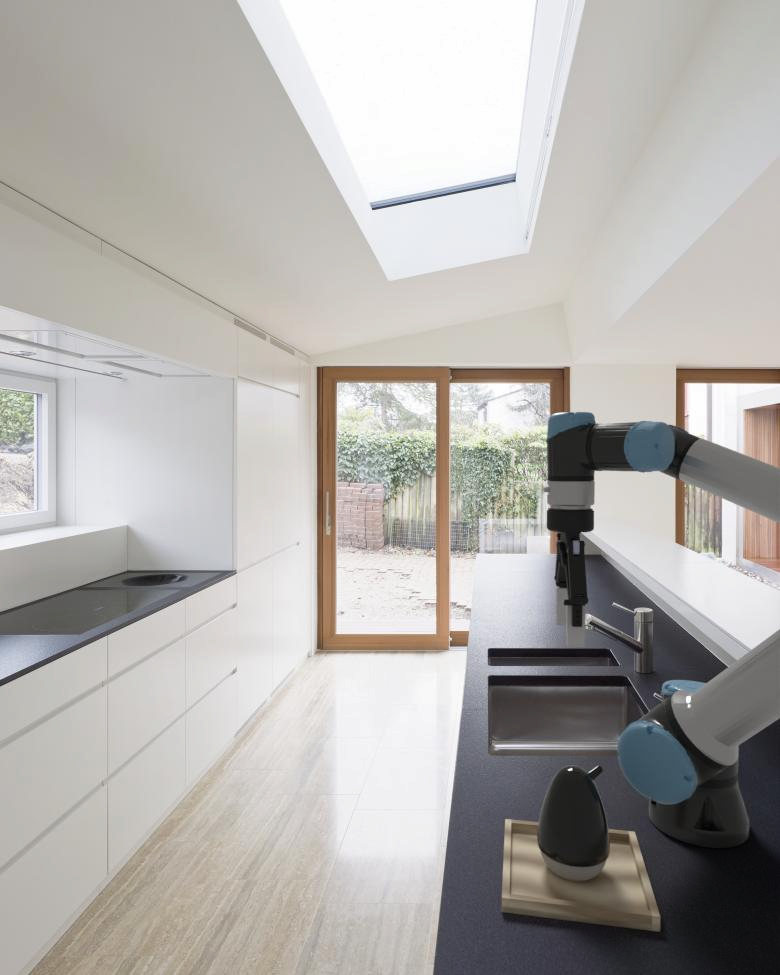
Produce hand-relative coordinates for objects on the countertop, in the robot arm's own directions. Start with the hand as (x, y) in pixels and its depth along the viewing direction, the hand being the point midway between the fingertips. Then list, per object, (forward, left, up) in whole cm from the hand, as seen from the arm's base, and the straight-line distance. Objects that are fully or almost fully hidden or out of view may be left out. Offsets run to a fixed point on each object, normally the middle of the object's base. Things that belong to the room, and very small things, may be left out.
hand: (569, 635), depth 112 cm
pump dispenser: (+11, +11, -31) cm, 34 cm away
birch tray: (+11, +11, -31) cm, 35 cm away
